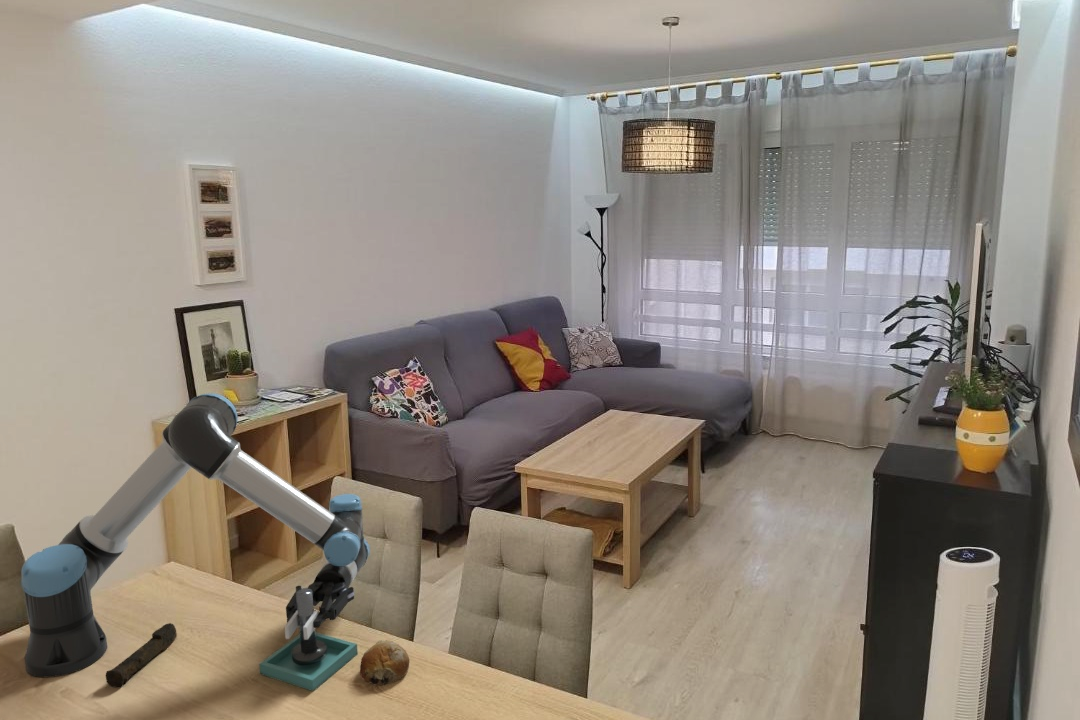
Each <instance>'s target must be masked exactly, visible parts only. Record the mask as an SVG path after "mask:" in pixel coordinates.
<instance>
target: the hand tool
mask: <svg viewBox="0 0 1080 720" xmlns="http://www.w3.org/2000/svg"><path fill="white" fill-rule="evenodd" d="M177 635H178V633H177V628H176V626H175V625H174V624H173V623H170V622H169V623H166V624H164V625H162V626H161V627H159V628H157V629H156V630H155V631H153V633H152V635H151V638H150V639H149V640H148V641H147V642H146V643H144V644H143V645H141V646H140V647H139V648H138V649H136V650H135V651H134V652H132V654H130V655H129V656H127V657H126V658H125V659H123V660H122V661H121V662H120V663H119V664H118V665H116V666H115V667H113V668H112V669H109V670H106V672H105V680H106V683H107V685H108V686H109V687H114V688H122V687H123V686H124V683H125V684H126V683H128V681H129V679H130V678H131V677H132V676H133V675H134V674H135V673H137V672H138V671H140V669H141V668H143V667H145V665H146V664H148V662H150V661H151V660H152V659H153V658H155V657H156V655H158V654H159V653H164V652H166V651H167V650H168V649H169V648H170V647H171V645H172V644H173V643H174V641H175V640H176V639H177ZM167 648H168V649H167Z"/></svg>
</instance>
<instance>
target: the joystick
mask: <svg viewBox="0 0 1080 720" xmlns="http://www.w3.org/2000/svg"><path fill="white" fill-rule="evenodd" d="M295 592H296V591H295ZM296 599H297V610H298V622H299V626H298V629H299V631H298V632H299V634H300V643H299V644H297V645H296V646H295V647H294V648H293V649H292V660H293V662H294V663H295V664H298V665H312V664H315V663H318V662H320V661H321V660H323V659H324V658H325V656H326V655H327V650H326V644H325V643H324V642H323V641H320V640H316V633H317V632H316V629H315V630H314V631H313V633H312V634H311V636H310V637H309V639H308V640H304V632H303V627H304V625H305V624H306V622H307V621H308V620H309V618H310V617H311V615H312V614H313V613H314V611H315V608H314V607H315V606H313V595H312V590H311V589H301V590H299V591H297V592H296Z"/></svg>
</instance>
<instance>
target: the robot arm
mask: <svg viewBox="0 0 1080 720" xmlns="http://www.w3.org/2000/svg"><path fill="white" fill-rule="evenodd" d="M237 424H238V413H237V409H236V407H235V405H234V404H233V403H232V402H231V400H229V399H228V398H226V397H225V396H223V395H222V394H218V393H213V392H211V393H210V392H207V393H202V394H200V395H197V396H194V397H193V398H192V399H190V400H189V401H188V403H187V404H186V406H184V407H183V408H182V409H181V410H180V411H179V412H178V413H177V414H176V415H175V416H174V418H173V419H172V420H171V422H169V424H167V426H166V427H165V428H164V429H163V430H162V432H161V437H162V442H161V443H159V445H158V446H157V447H156V448H155V449H154V450H153V452H151V454H150V455H148V457H147V458H146V459H145V460H144V461H143V462H142V463H141V464H140V465H139V467H138V468H137V469H136V470H135V471H134V472H133V473H132V474H131V475H130V477H129V478H128V479H127V480H126V481H125V482H124V483H123V484H122V485H121V486H120V487H119V489H117V491H115V493H114V494H113V495H112V496H111V497H110V498H109V499H108V500H107V501H106V502H105V503H104V505H103V506H102V507H101V508H100V509H99V510H98V511H97V513H95V514H94V515H93V514H92V515H86V516H83V518H81V520H79V522H78V523H76V525H75V526H74V527H73V528H72V529H71V530H70V531H69V532H67V534H66V535H65V536H64V537H63V538H62V540H61V541H60V542H59V543H58V544H56V545H51V546H49V547H45V548H43V549H42V550H41V551H37V552H35V553H34V554H32V555H31V556H29V557H28V558H26V560H25V561H24V563H23V565H22V567H21V570H20V571H21V573H20V574H21V580H20V585H21V588H22V591H23V597H24V602H25V608H26V613H27V619H28V620H27V621H28V625H29V632H30V633H29V637H28V642H27V646H26V651H25V656H24V666H25V670H26V672H27V673H28V674H30V675H31V676H34V677H38V678H51V677H52V678H53V677H60V676H65V675H68V674H72V673H75V672H77V671H79V670H82V669H85V668H86V667H89V666H90V665H93V664H94V663H95V662H97V661H98V660H99V659H101V658H102V657H103V656H104V655H105V653H106V652H107V651H108V641H107V636H106V634H105V632H104V630H103V629H102V627H101V625H100V624H99V622H98V620H97V619H96V617H95V615H94V609H93V602H92V596H91V590H92V589H93V587H95V585H96V584H97V582H98V581H99V580H100V578H101V577H102V576H103V575H104V574H105V572H107V570H108V569H109V568H110V567H111V565H113V563H114V562H116V560H117V559H118V558H119V557H120V556H121V555H122V553H124V552H125V550H127V547H128V543H129V542H128V537H129V536H130V535H131V534H132V533H133V532H134V531H135V530H136V528H138V526H139V525H140V524H141V523H142V522H143V521H144V520H145V518H147V517H148V516H149V515H150V513H151V512H152V511H153V510H155V508H156V507H157V506H158V505H159V504H160V502H162V500H163V499H164V498H165V497H166V496H167V495H168V493H170V492H171V490H173V488H175V486H176V485H177V484H178V483H179V482H180V481H181V480H182V478H183V477H185V476H186V474H187V473H188V472H189V471H190V470H191V469H193V470H194V471H196V472H198V473H199V474H201V475H202V476H204V477H205V478H207V479H208V480H219V481H221V482H222V483H223V484H225V485H227V486H228V487H229V488H230V489H232V490H234V491H235V492H237V493H238V494H240V495H241V496H242V497H244V498H246V500H249V501H250V502H252V503H253V504H255V505H256V506H258V507H259V508H261V509H262V510H263V511H265V512H267V513H268V514H269V515H271V516H272V517H274V518H275V519H277V520H278V521H280V522H281V523H282V524H284V525H285V526H287V527H289V528H290V529H292V530H293V531H295V532H296V533H298V534H299V535H301V536H302V537H303V538H305V539H306V540H308V541H309V542H311V543H312V544H314V545H315V546H317V547H318V548H319V549H321V550H322V551H323V554H324V557H325V559H326V562H325V564H324V565H323V566H322V568H321V569H320V571H318V573H317V574H316V576H315V577H314V581H313V582H312V583H311V584H309V585H308V586H307V587H302V585H297V586H295V591H294V593H293V595H292V597H291V598H290V599H289V601H288V603H287V604H286V606H285V614H286V623H285V625H284V635H285V636H284V637H285V640H290V639H291V637H292V636H293V635H294V633H295V631H297V629H298V628H299V622H298V610H297V599H296V592H297V591H299V590H301V589H311V590H312V595H313V607H315V606H317V605H318V604H319V603H320V602H321V604H320V606H318V610H314V613H313V614H312V615H311V617H310V618H309V620H308V621H307V622H306V624H305V625H304V627H303V632H304V640H308V639H309V637H310V636H311V634H312V633H313V631H314V630H315V631H316V629H319V628H320V627H321V626H322V624H323V623H324V622H325V621H327V620H328V619H329V620H330V621H335V620H336V619H337V618H338V616H339V615H340V613H341V612H342V611H343V609H345V607H346V606H347V605H348V603H350V602H351V601H353V600H354V599H355V593H354V592H355V591H354V590H355V589H354V588H355V587H353V586H351V584H352V583H353V581H354V579H356V577H357V575H358V574H359V572H360V571H361V569H362V568H363V567H364V566H365V564H366V562H367V560H368V558H369V556H370V551H371V550H370V548H371V547H370V544H369V543H368V541H367V539H366V538H365V537H364V527H363V526H364V524H363V521H364V520H363V506H362V500H361V498H360V496H358V495H356V494H353V493H343V494H338V495H335V496H334V497H332V498H331V499H330V500H329V502H328V503H329V504H328V505H329V509H327V508H325V507H324V506H322V505H321V504H320V503H318V502H317V501H315V500H314V499H313V498H311V497H310V496H308V495H307V494H306V493H303V492H302V491H301V490H299V489H298V488H297V487H295V486H294V485H293V484H291V483H289V482H288V481H287V480H285V479H284V478H282V477H281V476H280V475H278V474H276V473H275V472H274V471H272V470H271V469H269V467H266V466H265V465H263V464H262V463H261V462H260V461H259V460H257V459H255V458H253V457H252V456H251V455H249V454H248V453H246V452H244V451H243V450H242V449H241V443H240V442H239V441H238V440H236V439H235V438H234V437H232V434H233V433H234V432H235V430H236V428H237Z"/></svg>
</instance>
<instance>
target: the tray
mask: <svg viewBox="0 0 1080 720" xmlns="http://www.w3.org/2000/svg"><path fill="white" fill-rule="evenodd" d="M316 640H320V641H323V642H324V643H325V644H326V650H327V655H326V656H325V658H324V659H323V660H321V661H320V662H318V663H315V664H312V665H298V664H295V663H294V662H293V660H292V649H293V648H294V647H295V646H296V645H297V644H299V643H300V633H299V634H298V635H296V636H295V637H294V638H293V639H291V640H290V641H288V642H287V643H286V644H284V645H283V646H282V647H280V648H279V649H277V650H276V651H275V652H273V653H271V654H270V655H269V656H268V657H266V658H265V659H264V660H262V661H261V662H259V664H258V665H259V666H258V667H259V674H260V675H262V676H265V677H269V678H271V679H274V680H278V681H279V682H280V681H281V682H284V683H287V684H289V685H293V686H296V687H300V688H303V689H306V690H309V691H312V692H314V691H315V690H316V689H318V688H319V687H320V686H322V685H323V684H324V683H325V682H326V681H328V680H329V679H330V678H331V677H333V676H334V674H336V673H337V672H338V671H340V670H341V669H342V668H343V667H344V666H345V665H347V664H348V663H349V662H350V661H351V660H353V659H354V658H356V656H358V654H359V652H358V644H357V643H355V642H351V641H347V640H344V639H341V638H336V637H333V636H330V635H327V634H322V633H319V632H316Z"/></svg>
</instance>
